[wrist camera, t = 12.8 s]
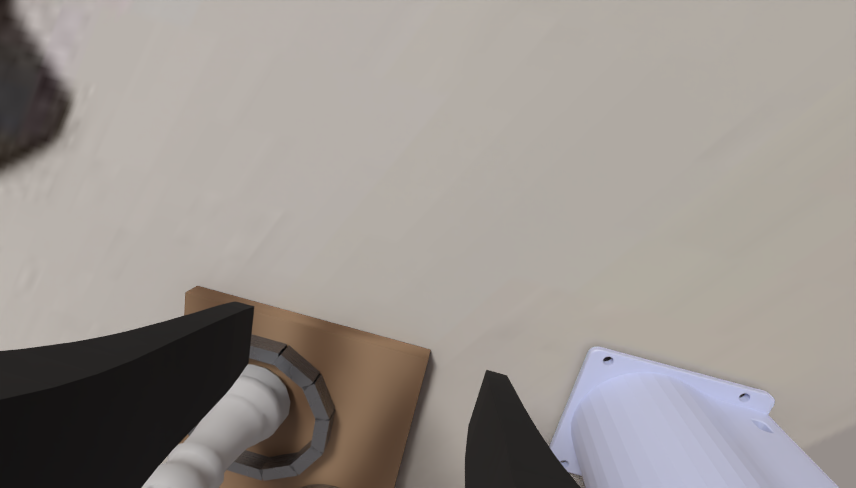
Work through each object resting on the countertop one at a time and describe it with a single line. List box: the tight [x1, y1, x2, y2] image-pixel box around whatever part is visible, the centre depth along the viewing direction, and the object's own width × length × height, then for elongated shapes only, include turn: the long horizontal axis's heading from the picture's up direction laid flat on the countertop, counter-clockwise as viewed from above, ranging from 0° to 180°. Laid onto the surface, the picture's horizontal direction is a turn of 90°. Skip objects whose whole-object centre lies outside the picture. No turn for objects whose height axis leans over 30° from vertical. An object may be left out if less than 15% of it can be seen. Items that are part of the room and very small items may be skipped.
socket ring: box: [188, 334, 336, 481], centre depth 24 cm, size 9×9×1 cm
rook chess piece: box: [142, 364, 290, 488], centre depth 20 cm, size 4×4×8 cm
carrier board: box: [178, 286, 430, 488], centre depth 26 cm, size 14×18×1 cm
